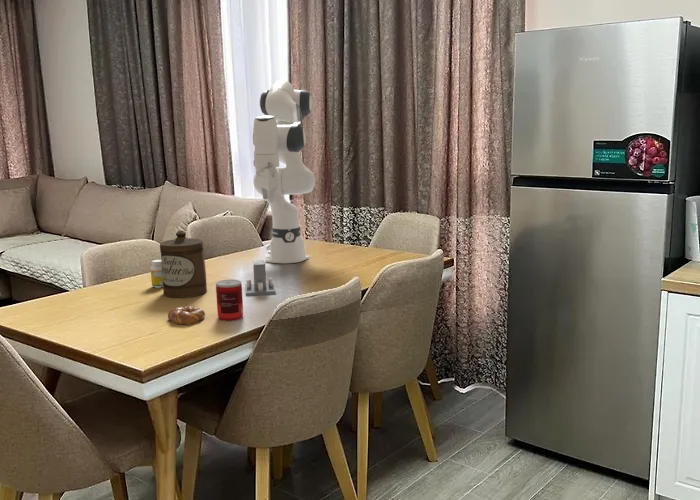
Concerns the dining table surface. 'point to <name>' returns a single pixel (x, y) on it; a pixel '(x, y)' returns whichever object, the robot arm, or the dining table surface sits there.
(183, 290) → the wooden container
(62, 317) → the dining table surface
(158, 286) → the supplement bottle
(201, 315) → the pretzel
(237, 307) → the canned food
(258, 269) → the block
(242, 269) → the dining table surface
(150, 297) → the dining table surface
